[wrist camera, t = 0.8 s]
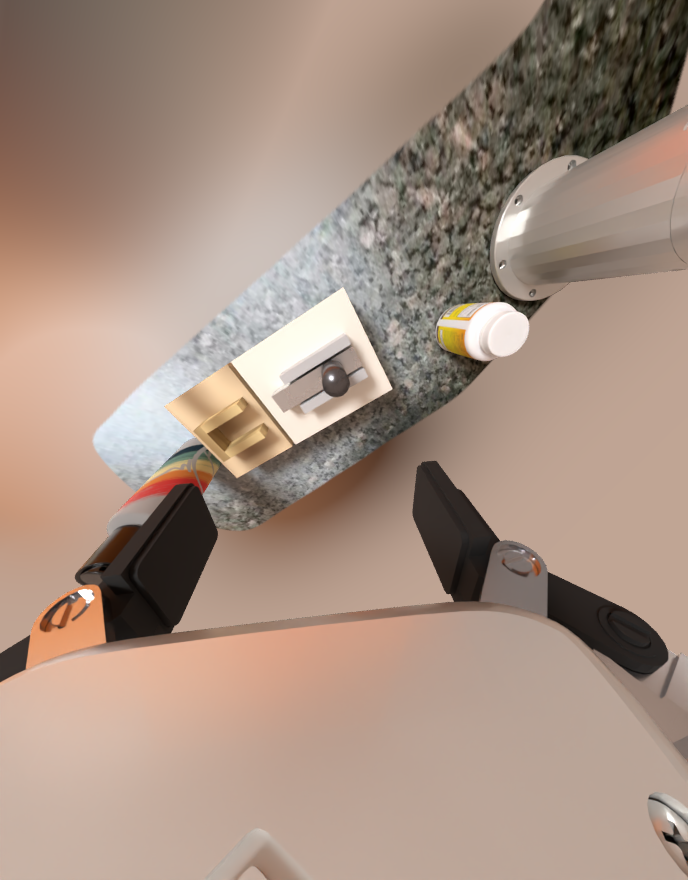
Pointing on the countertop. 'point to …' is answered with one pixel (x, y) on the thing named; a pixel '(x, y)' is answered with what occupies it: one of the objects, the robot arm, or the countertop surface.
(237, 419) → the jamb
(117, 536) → the lotion bottle
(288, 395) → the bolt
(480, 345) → the supplement bottle
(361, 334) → the white slotted base
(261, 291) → the countertop surface
